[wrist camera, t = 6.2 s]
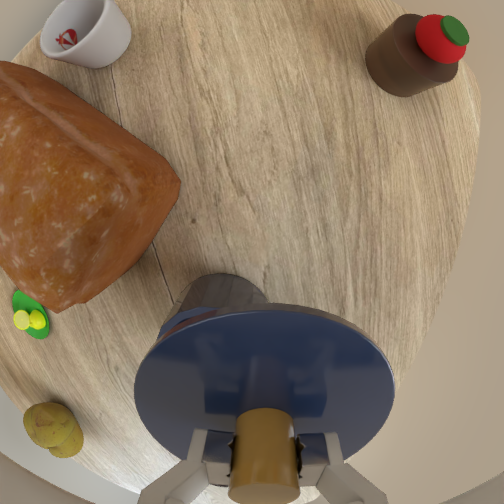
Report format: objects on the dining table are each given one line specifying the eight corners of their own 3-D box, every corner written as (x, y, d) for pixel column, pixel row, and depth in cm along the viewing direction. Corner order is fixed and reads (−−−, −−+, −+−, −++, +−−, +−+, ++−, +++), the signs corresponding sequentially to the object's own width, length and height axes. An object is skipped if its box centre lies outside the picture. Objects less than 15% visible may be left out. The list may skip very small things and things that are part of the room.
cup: (80, 17, 20) (45, -6, 13) (138, -9, 20) (111, -43, 12) (80, 87, 23) (36, 72, 16) (143, 61, 23) (108, 32, 15)
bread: (127, 282, 30) (46, 366, 14) (-2, 160, 25) (-89, 174, 10) (197, 176, 26) (125, 189, 11) (43, 67, 22) (-46, 42, 7)
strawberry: (444, 35, 15) (472, 19, 11) (449, 75, 16) (481, 64, 12) (403, 19, 15) (428, -3, 11) (408, 60, 16) (437, 42, 12)
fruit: (43, 377, 35) (14, 413, 26) (98, 418, 37) (76, 459, 27) (38, 404, 38) (15, 435, 28) (86, 438, 40) (68, 474, 30)
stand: (419, 49, 21) (452, 30, 15) (423, 104, 23) (461, 93, 17) (363, 32, 21) (388, 3, 15) (365, 88, 23) (395, 69, 17)
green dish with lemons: (32, 340, 33) (22, 349, 30) (8, 295, 31) (-3, 302, 28) (60, 332, 32) (49, 342, 29) (33, 281, 30) (21, 289, 27)
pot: (275, 276, 29) (281, 311, 22) (267, 358, 32) (269, 404, 25) (174, 269, 29) (149, 301, 22) (179, 351, 32) (163, 394, 25)
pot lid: (416, 297, 10) (485, 368, 5) (350, 460, 13) (364, 523, 8) (124, 282, 10) (51, 354, 5) (162, 453, 13) (143, 516, 8)
